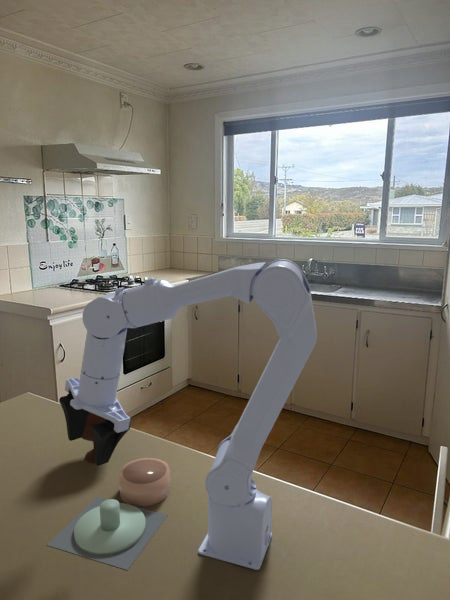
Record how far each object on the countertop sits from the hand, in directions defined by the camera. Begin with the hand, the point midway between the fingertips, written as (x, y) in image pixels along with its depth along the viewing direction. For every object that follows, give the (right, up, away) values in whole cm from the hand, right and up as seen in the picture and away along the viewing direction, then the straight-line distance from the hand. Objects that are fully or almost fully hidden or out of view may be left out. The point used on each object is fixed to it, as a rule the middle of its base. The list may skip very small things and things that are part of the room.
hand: (88, 450), depth 71 cm
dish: (+7, -11, +11) cm, 17 cm away
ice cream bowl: (-5, -9, +22) cm, 25 cm away
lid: (+3, -13, +1) cm, 13 cm away
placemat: (+3, -13, +1) cm, 13 cm away
